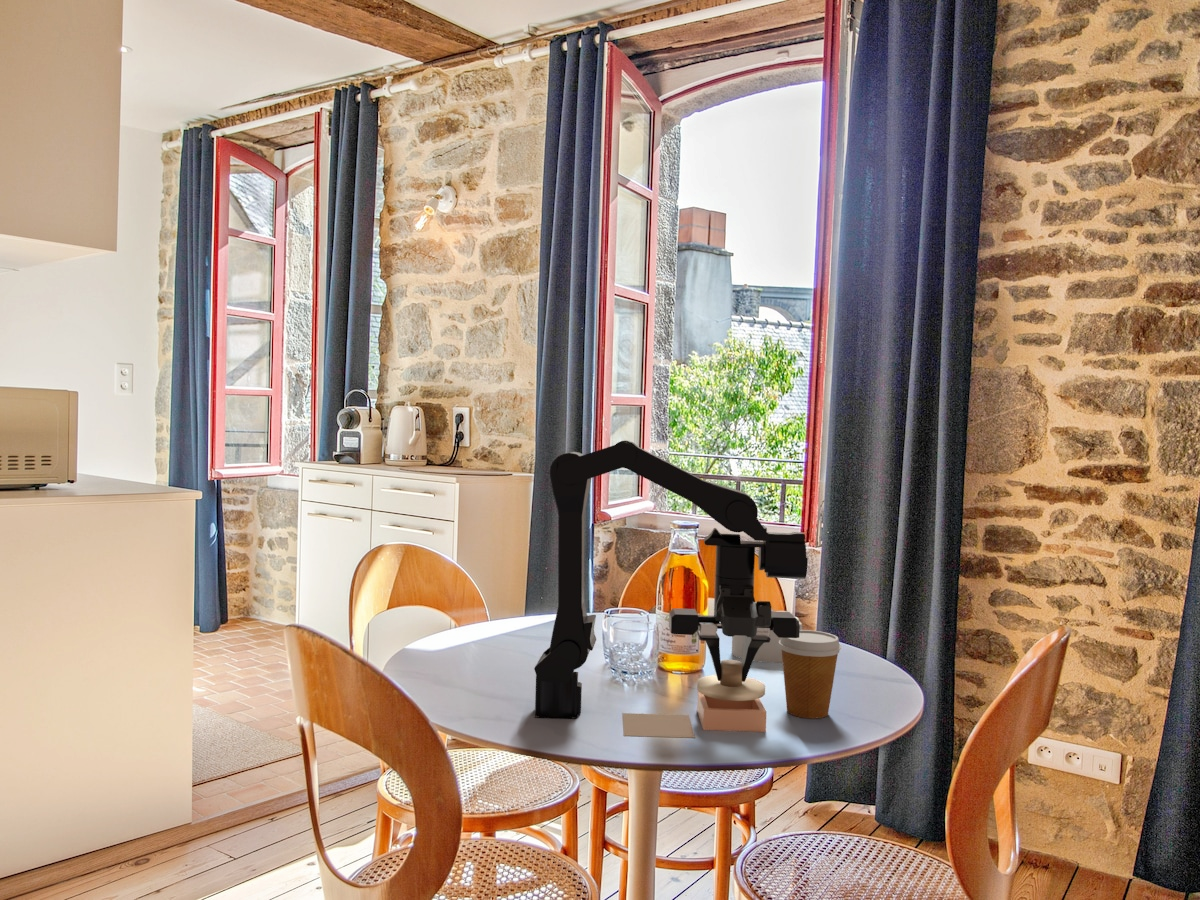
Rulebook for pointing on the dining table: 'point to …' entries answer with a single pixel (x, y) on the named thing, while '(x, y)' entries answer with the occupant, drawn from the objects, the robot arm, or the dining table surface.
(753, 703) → the dish
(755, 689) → the lid
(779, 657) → the lumpy-topped squat cylinder
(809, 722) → the dining table surface
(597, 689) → the dining table surface
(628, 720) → the mat
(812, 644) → the disposable coffee cup
